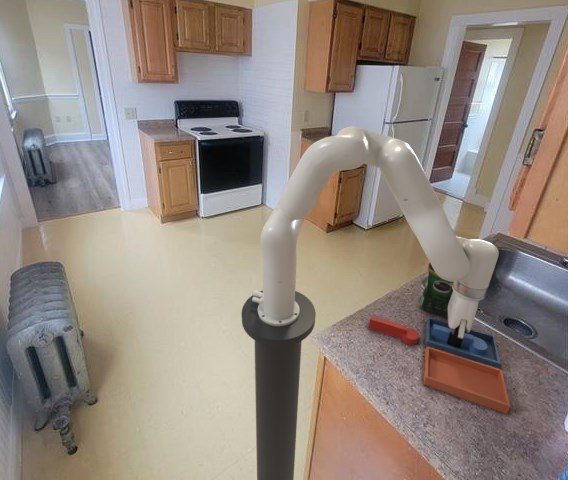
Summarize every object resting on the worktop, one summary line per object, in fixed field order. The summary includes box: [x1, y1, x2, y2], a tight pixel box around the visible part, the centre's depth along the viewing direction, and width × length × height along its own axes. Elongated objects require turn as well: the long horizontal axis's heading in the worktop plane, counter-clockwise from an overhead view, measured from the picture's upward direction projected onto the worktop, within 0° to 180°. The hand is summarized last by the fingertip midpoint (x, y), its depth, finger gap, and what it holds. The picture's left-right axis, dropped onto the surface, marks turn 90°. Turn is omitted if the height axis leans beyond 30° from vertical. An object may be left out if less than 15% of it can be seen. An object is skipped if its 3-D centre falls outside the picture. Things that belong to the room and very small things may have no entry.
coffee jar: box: [420, 261, 453, 318], centre depth 98 cm, size 10×8×19 cm
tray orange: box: [423, 346, 511, 415], centre depth 78 cm, size 17×10×2 cm, turn 66°
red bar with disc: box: [368, 315, 420, 346], centre depth 91 cm, size 13×4×3 cm, turn 66°
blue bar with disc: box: [431, 324, 487, 355], centre depth 88 cm, size 13×4×3 cm, turn 66°
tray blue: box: [424, 316, 502, 369], centre depth 88 cm, size 17×10×2 cm, turn 66°
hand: (453, 340), depth 89 cm, fingers closed
